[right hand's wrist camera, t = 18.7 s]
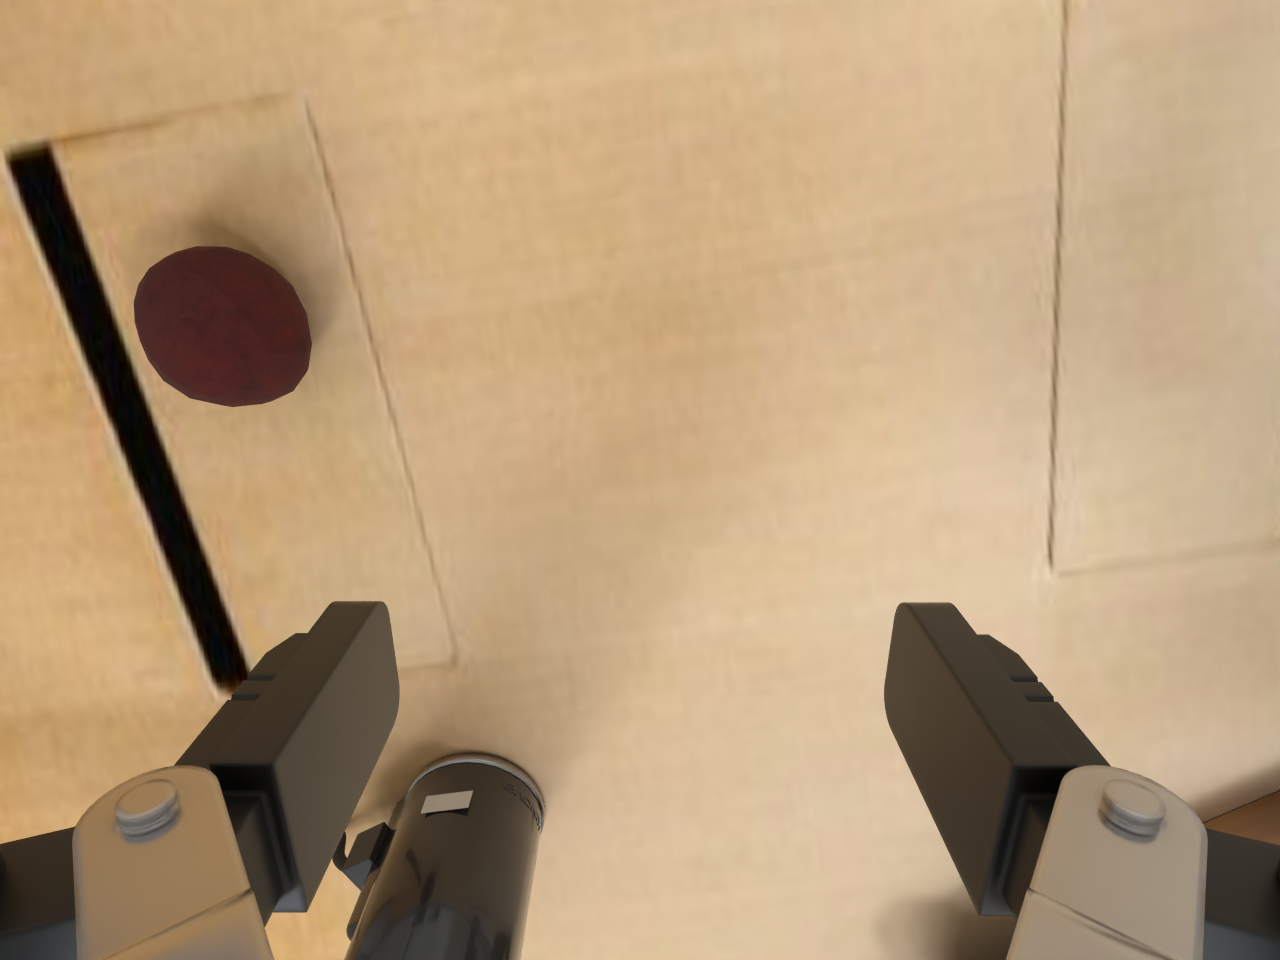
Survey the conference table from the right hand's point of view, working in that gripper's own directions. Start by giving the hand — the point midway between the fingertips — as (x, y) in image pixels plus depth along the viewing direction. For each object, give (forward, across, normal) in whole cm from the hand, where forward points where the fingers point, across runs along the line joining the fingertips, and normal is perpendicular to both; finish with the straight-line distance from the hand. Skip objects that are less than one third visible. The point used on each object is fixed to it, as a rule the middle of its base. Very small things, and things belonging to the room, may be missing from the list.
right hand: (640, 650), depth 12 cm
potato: (+29, +20, -1) cm, 35 cm away
